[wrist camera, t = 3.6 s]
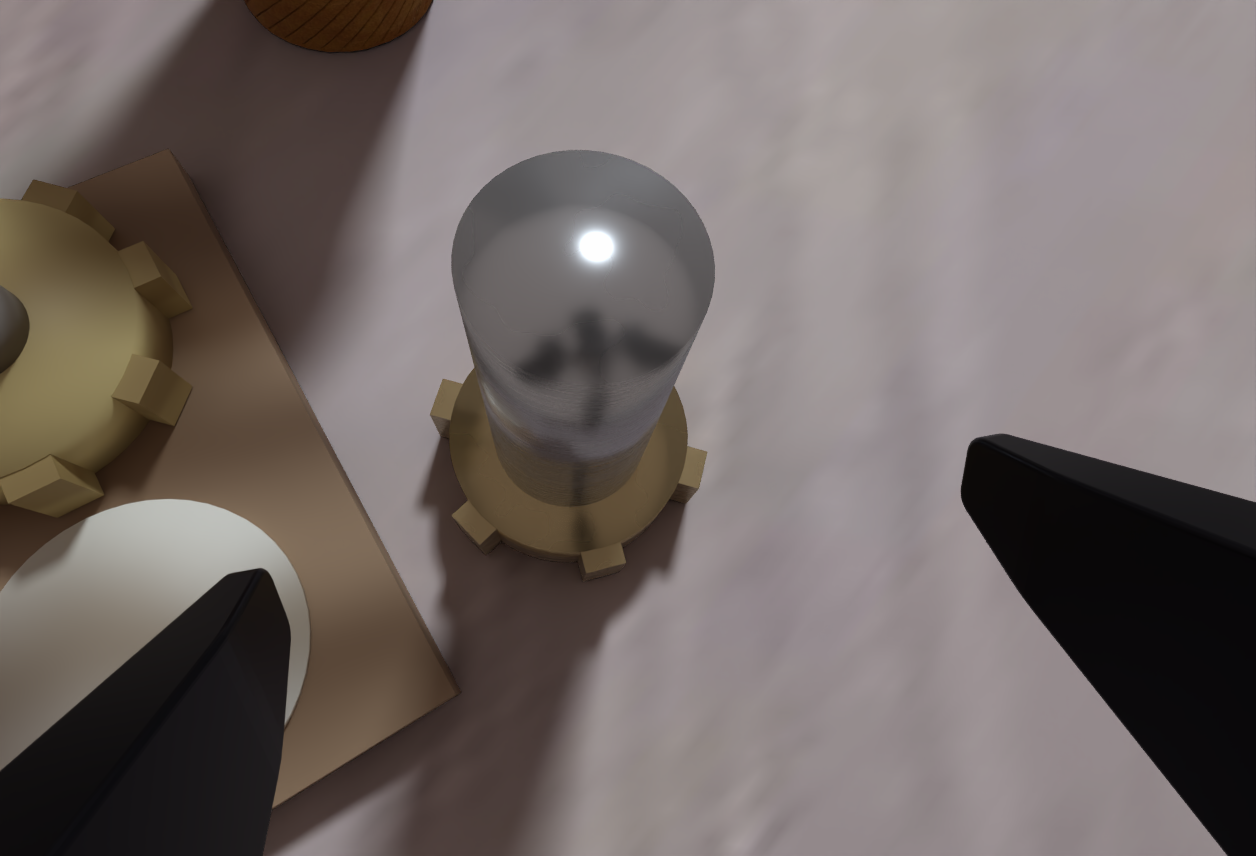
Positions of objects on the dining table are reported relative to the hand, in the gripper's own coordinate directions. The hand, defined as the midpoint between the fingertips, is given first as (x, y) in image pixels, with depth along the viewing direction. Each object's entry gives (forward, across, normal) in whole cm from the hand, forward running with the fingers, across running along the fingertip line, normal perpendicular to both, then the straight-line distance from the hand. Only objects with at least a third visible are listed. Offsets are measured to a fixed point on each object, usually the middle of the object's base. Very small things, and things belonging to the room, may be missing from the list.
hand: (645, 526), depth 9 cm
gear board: (+11, +12, +4) cm, 17 cm away
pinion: (+10, 0, +5) cm, 11 cm away
